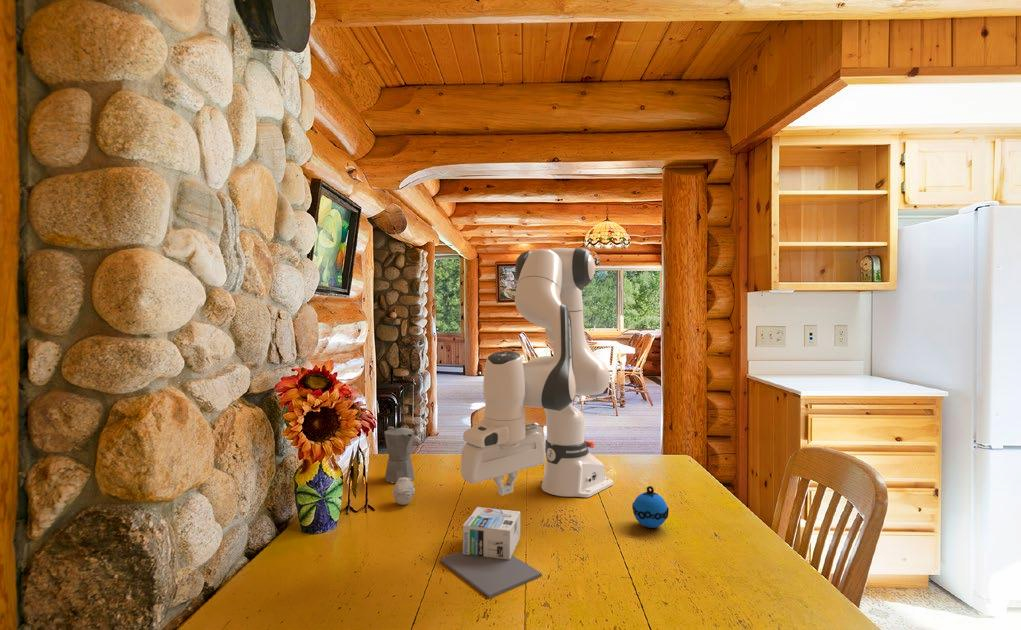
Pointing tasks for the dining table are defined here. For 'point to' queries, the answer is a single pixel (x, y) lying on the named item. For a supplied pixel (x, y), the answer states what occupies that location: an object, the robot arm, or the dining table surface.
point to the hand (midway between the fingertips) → (505, 493)
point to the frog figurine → (403, 490)
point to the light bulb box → (491, 533)
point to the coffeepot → (398, 452)
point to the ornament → (650, 509)
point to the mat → (490, 572)
